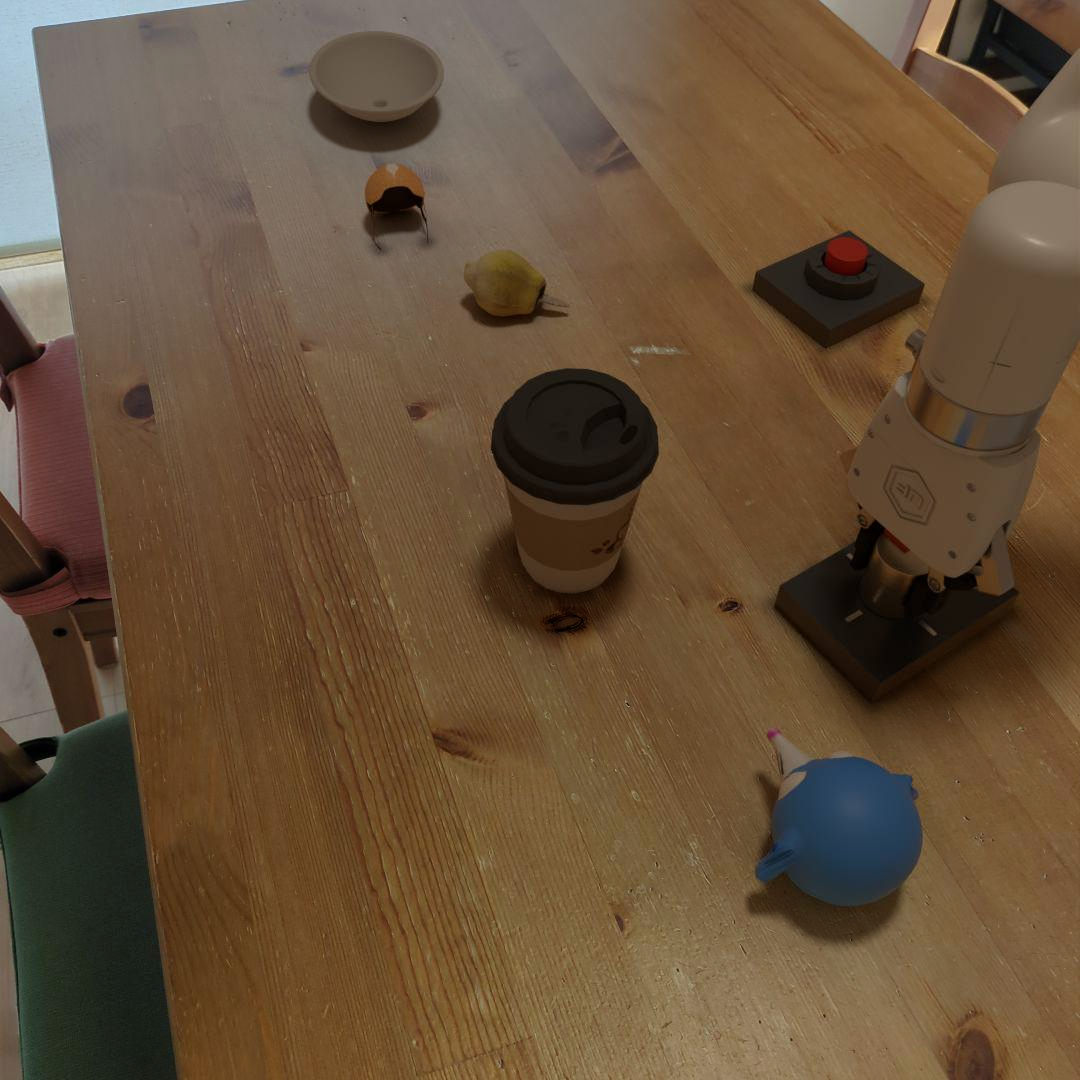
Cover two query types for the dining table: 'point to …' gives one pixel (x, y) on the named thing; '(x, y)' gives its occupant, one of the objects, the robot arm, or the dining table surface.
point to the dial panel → (879, 624)
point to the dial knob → (891, 577)
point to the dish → (376, 74)
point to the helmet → (394, 191)
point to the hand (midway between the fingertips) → (895, 583)
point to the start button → (845, 256)
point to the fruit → (507, 284)
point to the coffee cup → (573, 472)
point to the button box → (836, 292)
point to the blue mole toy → (841, 826)
